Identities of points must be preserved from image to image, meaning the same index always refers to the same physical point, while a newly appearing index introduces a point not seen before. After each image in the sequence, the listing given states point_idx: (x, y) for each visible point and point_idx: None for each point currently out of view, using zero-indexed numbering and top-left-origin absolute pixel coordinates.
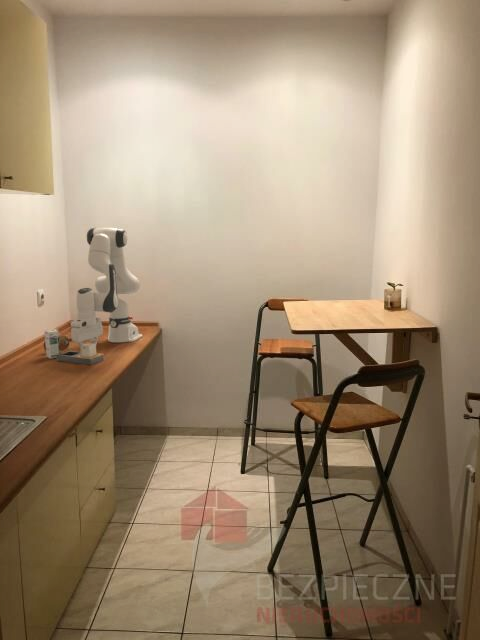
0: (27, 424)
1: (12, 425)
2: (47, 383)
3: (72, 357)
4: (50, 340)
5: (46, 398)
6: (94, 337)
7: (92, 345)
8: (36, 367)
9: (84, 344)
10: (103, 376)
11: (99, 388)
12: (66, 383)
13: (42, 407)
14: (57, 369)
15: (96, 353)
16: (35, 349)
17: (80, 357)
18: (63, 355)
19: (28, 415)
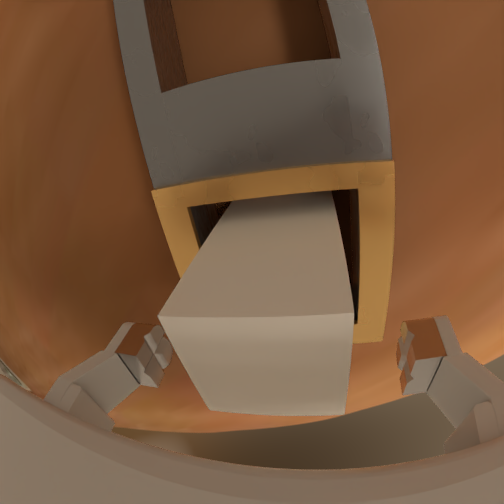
0: (15, 380)
1: (2, 367)
2: (14, 309)
3: (144, 145)
4: None
5: (22, 361)
6: (460, 433)
7: (276, 409)
8: (5, 71)
9: (226, 329)
10: (162, 413)
11: (115, 422)
12: (54, 355)
13: (22, 373)
14: (44, 201)
15: (379, 283)
16: None
17: (171, 253)
18: (126, 13)
19: (11, 370)
